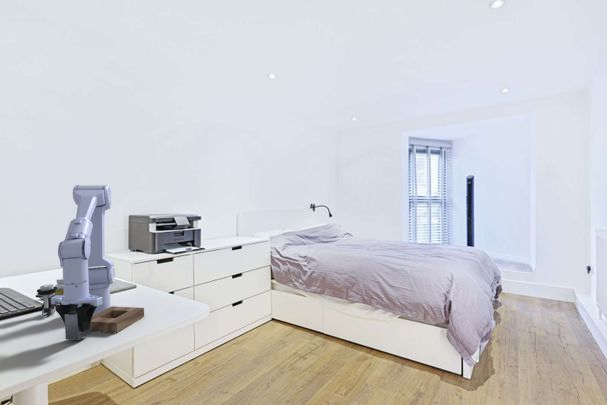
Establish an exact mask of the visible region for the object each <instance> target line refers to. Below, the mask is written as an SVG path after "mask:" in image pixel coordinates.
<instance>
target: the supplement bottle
mask: <svg viewBox="0 0 607 405" xmlns="http://www.w3.org/2000/svg"><path fill="white" fill-rule="evenodd" d="M56 283H57V284H55V285H54V286H55V287H57V289H56V292H55V293H54V296H57V295H64V290H63V276H62V277H59V278H56ZM57 304H59V303H57Z"/></svg>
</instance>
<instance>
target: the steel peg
mask: <svg viewBox="0 0 607 405" xmlns="http://www.w3.org/2000/svg"><path fill="white" fill-rule="evenodd" d="M64 331H65V340H69V341H71V340H72V341H79V340H81V339H83V338H85V337H87V336H88V335H90V334H91V333H92V332H91V331H90V327H89V329H87V330H86V331H84V332H81V329H80V322H79V317H78V315H77V313H76V311H75V310H73V311H71V312H69V313H66V314H65V325H64Z"/></svg>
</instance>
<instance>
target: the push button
mask: <svg viewBox="0 0 607 405" xmlns="http://www.w3.org/2000/svg"><path fill="white" fill-rule="evenodd" d="M56 289H57V287H55V285H54V284H51V283H49V284H44V285H41V286H40V287H39V288H38V289H37V290H36V293H37V294H38V296H40V297H43V302H42V304H41V309H42V310H41V317H42V319H45V318H49V317H50V316H51V315H54V314H55V312H56V311H55V308H56V307H55V306H56V304H52V303H51V297H52V295H55V292H56Z"/></svg>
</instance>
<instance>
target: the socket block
mask: <svg viewBox="0 0 607 405" xmlns="http://www.w3.org/2000/svg"><path fill="white" fill-rule="evenodd" d="M143 318H145V307H135V306H133V307H131V306H116V307H115V305H111V307H109V308H107V309H105V310H103V311H101V312H99V313H97V314H95V315H93V316H92V319H91V323H90V333H92V332H93V333H108V334H118V333H120V332H121V331H123V330H125V329H126V328H128V327H130V326H131V325H134V324H135V323H137V322H138V321H140V320H142V319H143Z"/></svg>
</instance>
